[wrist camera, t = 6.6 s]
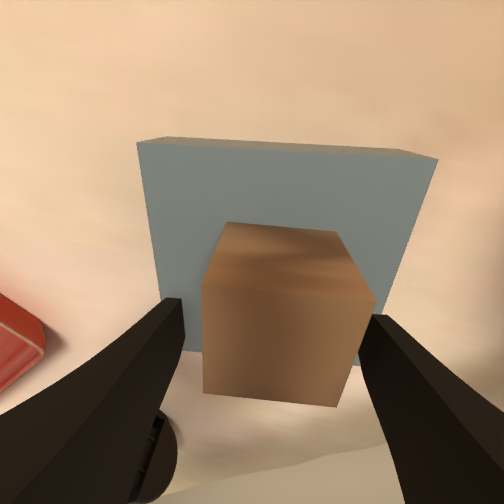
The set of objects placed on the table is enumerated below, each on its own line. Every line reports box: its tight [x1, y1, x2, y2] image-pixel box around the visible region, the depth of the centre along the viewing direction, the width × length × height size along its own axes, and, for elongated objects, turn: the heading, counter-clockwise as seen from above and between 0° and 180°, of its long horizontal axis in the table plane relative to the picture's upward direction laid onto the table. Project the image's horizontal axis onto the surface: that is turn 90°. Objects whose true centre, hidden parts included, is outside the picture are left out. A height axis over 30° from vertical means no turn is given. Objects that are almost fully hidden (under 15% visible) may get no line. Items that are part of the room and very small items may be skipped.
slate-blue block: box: [136, 137, 439, 366], centre depth 15 cm, size 12×12×4 cm
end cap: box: [127, 410, 178, 504], centre depth 24 cm, size 10×7×7 cm
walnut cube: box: [201, 222, 377, 408], centre depth 11 cm, size 5×5×5 cm
